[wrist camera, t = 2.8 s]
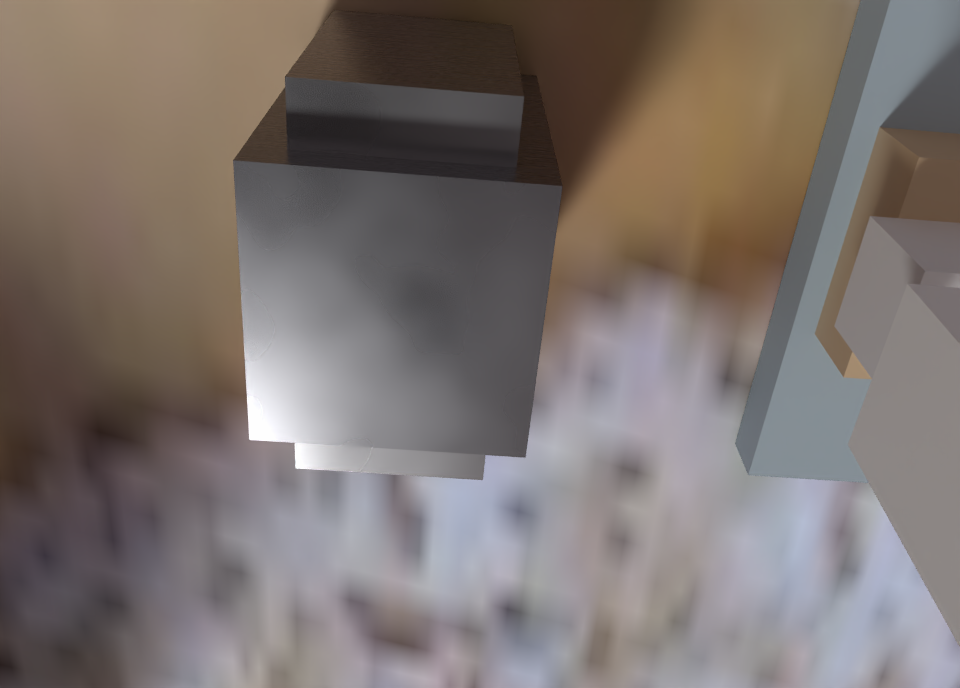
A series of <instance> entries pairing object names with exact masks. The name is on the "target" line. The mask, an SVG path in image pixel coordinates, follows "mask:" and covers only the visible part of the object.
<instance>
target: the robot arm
mask: <svg viewBox="0 0 960 688" xmlns="http://www.w3.org/2000/svg"><path fill="white" fill-rule="evenodd" d="M848 446H849V448H850V450H851V452H852V453H853V455H854V457H855V459H856V461H857V462H858V464H859V466H860V468H861V470H862V471H863V473H864V475H865V477H866V479H867V480H868V482H869V484H870V486H871V488H872V489H873V491H874V493H875V495H876V497H877V498H878V500H879V502H880V504H881V506H882V507H883V509H884V511H885V513H886V515H887V516H888V518H889V520H890V522H891V524H892V526H893V527H894V529H895V531H896V533H897V535H898V536H899V538H900V540H901V542H902V544H903V545H904V547H905V549H906V551H907V553H908V554H909V556H910V558H911V560H912V562H913V563H914V565H915V567H916V569H917V571H918V572H919V574H920V576H921V578H922V580H923V581H924V583H925V585H926V587H927V589H928V590H929V592H930V594H931V596H932V598H933V599H934V601H935V603H936V605H937V607H938V609H939V610H940V612H941V614H942V616H943V618H944V619H945V621H946V623H947V625H948V627H949V628H950V630H951V632H952V634H953V636H954V637H955V639H956V641H957V643H958V645H959V646H960V288H955V287H942V286H930V285H918V284H907V286H906V289H905V291H904V294H903V297H902V300H901V302H900V305H899V308H898V310H897V313H896V316H895V318H894V321H893V324H892V327H891V329H890V332H889V335H888V337H887V340H886V343H885V345H884V348H883V351H882V354H881V356H880V359H879V362H878V364H877V367H876V370H875V372H874V375H873V378H872V381H871V383H870V386H869V389H868V391H867V394H866V397H865V399H864V402H863V405H862V408H861V410H860V413H859V416H858V418H857V421H856V424H855V426H854V429H853V432H852V435H851V437H850V440H849V443H848Z"/></svg>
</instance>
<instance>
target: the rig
mask: <svg viewBox="0 0 960 688" xmlns="http://www.w3.org/2000/svg"><path fill="white" fill-rule="evenodd" d="M907 284H918V285H930V286H942V287H955V288H960V0H861V2H860V5H859V9H858V12H857V16H856V19H855V23H854V26H853V30H852V33H851V37H850V40H849V44H848V47H847V51H846V55H845V58H844V62H843V65H842V69H841V72H840V76H839V79H838V83H837V86H836V90H835V93H834V97H833V100H832V104H831V107H830V111H829V115H828V118H827V122H826V125H825V129H824V132H823V136H822V139H821V143H820V146H819V150H818V153H817V157H816V160H815V164H814V167H813V171H812V175H811V178H810V182H809V185H808V189H807V192H806V196H805V199H804V203H803V206H802V210H801V213H800V217H799V220H798V224H797V227H796V231H795V235H794V238H793V242H792V245H791V249H790V252H789V256H788V259H787V263H786V266H785V270H784V273H783V277H782V280H781V284H780V287H779V291H778V295H777V298H776V302H775V305H774V309H773V312H772V316H771V319H770V323H769V326H768V330H767V333H766V337H765V340H764V344H763V347H762V351H761V355H760V358H759V362H758V365H757V369H756V372H755V376H754V379H753V383H752V386H751V390H750V393H749V397H748V400H747V404H746V407H745V411H744V415H743V418H742V422H741V425H740V429H739V432H738V436H737V439H736V443H735V444H736V447H737V449H738V452H739V454H740V456H741V459H742V461H743V464H744V466H745V468H746V471H747V473H748V475H754V476H770V477H786V478H801V479H817V480H833V481H848V482H864V483H869V482H868V480H867V479H866V477H865V475H864V473H863V471H862V470H861V468H860V466H859V464H858V462H857V461H856V459H855V457H854V455H853V453H852V452H851V450H850V448H849V446H848V443H849V440H850V437H851V435H852V432H853V429H854V426H855V424H856V421H857V418H858V416H859V413H860V410H861V408H862V405H863V402H864V399H865V397H866V394H867V391H868V389H869V386H870V383H871V381H872V378H873V375H874V372H875V370H876V367H877V364H878V362H879V359H880V356H881V354H882V351H883V348H884V345H885V343H886V340H887V337H888V335H889V332H890V329H891V327H892V324H893V321H894V318H895V316H896V313H897V310H898V308H899V305H900V302H901V300H902V297H903V294H904V291H905V289H906V286H907Z"/></svg>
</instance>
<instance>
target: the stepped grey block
mask: <svg viewBox="0 0 960 688" xmlns="http://www.w3.org/2000/svg"><path fill="white" fill-rule="evenodd" d="M233 164H234V181H235V198H236V215H237V233H238V250H239V267H240V284H241V302H242V319H243V336H244V354H245V371H246V388H247V405H248V423H249V440H260V441H276V442H292V443H295V468H299V469H315V470H331V471H347V472H363V473H378V474H394V475H410V476H426V477H442V478H458V479H474V480H483V473H484V464H485V455H495V456H510V457H526V450H527V442H528V435H529V428H530V420H531V413H532V406H533V398H534V391H535V384H536V376H537V369H538V362H539V354H540V347H541V340H542V333H543V325H544V318H545V311H546V303H547V296H548V289H549V281H550V274H551V267H552V259H553V252H554V245H555V237H556V230H557V223H558V215H559V208H560V201H561V193H562V182H561V178H560V173H559V169H558V165H557V161H556V157H555V152H554V148H553V144H552V140H551V135H550V131H549V127H548V123H547V119H546V114H545V110H544V106H543V102H542V97H541V93H540V89H539V85H538V81H537V76H530V75H520V70H519V64H518V58H517V53H516V47H515V41H514V36H513V30H512V25H501V24H490V23H478V22H467V21H455V20H443V19H432V18H420V17H409V16H397V15H385V14H374V13H362V12H351V11H339V10H334V11H333V12H332V14H331V15H330V16H329V18H328V19H327V20H326V22H325V23H324V25H323V26H322V27H321V29H320V30H319V31H318V33H317V34H316V35H315V37H314V38H313V40H312V41H311V42H310V44H309V45H308V46H307V48H306V49H305V50H304V52H303V53H302V54H301V56H300V57H299V59H298V60H297V61H296V63H295V64H294V65H293V67H292V68H291V69H290V71H289V72H288V74H287V75H286V76H285V88H284V89H283V91H282V92H281V94H280V95H279V97H278V98H277V99H276V101H275V102H274V104H273V105H272V106H271V108H270V109H269V111H268V112H267V113H266V115H265V116H264V118H263V119H262V121H261V122H260V123H259V125H258V126H257V128H256V129H255V130H254V132H253V133H252V135H251V136H250V138H249V139H248V140H247V142H246V143H245V145H244V146H243V147H242V149H241V150H240V152H239V153H238V154H237V156H236V157H235V159H234V160H233Z"/></svg>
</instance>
